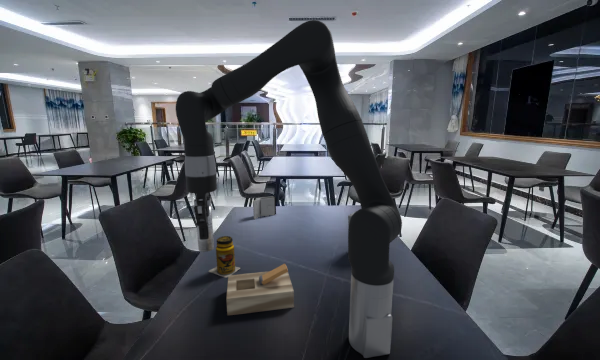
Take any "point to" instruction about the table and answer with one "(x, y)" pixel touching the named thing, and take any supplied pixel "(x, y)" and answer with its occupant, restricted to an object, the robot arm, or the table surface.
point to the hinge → (264, 206)
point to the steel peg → (208, 243)
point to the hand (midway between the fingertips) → (205, 235)
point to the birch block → (258, 293)
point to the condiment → (225, 257)
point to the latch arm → (273, 274)
